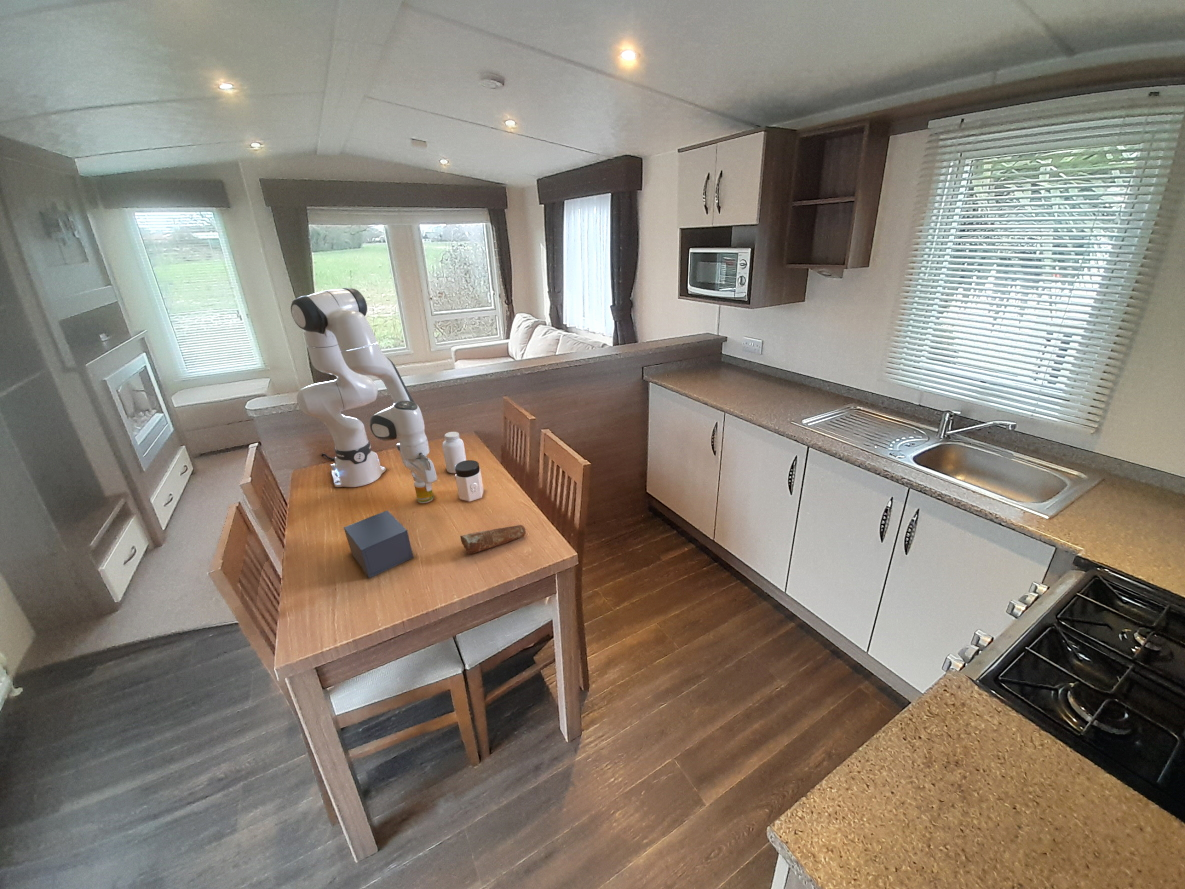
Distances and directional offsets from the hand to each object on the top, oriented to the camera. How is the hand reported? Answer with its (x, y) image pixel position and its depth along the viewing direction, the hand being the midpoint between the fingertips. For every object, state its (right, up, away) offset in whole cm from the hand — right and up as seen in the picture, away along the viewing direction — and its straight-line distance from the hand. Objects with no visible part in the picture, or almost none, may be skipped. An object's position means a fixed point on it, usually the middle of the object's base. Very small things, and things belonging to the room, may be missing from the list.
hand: (422, 485), depth 164 cm
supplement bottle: (0, -5, +3) cm, 6 cm away
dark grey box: (-3, -18, -25) cm, 31 cm away
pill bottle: (+5, +4, +23) cm, 24 cm away
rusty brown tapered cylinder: (+29, -16, -21) cm, 39 cm away
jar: (+16, -4, +5) cm, 17 cm away
